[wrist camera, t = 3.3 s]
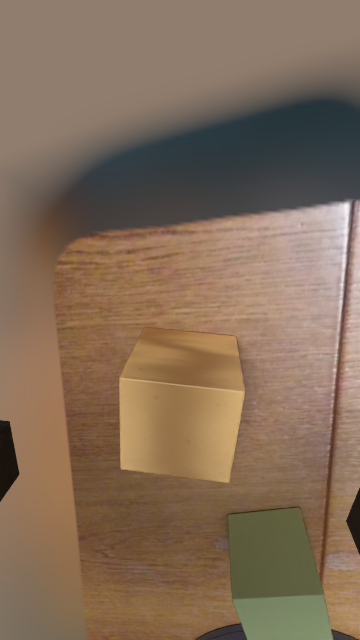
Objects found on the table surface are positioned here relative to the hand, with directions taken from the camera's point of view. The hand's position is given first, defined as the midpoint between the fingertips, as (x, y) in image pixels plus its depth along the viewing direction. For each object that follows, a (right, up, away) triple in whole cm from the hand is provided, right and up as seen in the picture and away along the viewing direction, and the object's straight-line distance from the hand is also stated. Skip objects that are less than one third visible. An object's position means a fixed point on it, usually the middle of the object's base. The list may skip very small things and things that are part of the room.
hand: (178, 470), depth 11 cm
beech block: (0, +3, +6) cm, 7 cm away
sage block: (+6, -10, +11) cm, 16 cm away
